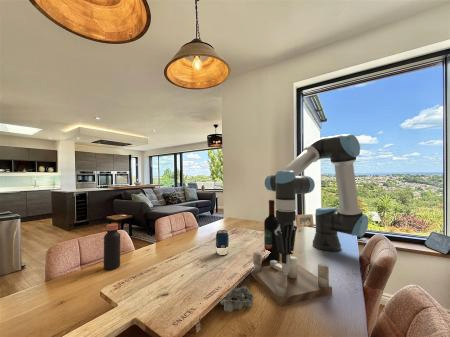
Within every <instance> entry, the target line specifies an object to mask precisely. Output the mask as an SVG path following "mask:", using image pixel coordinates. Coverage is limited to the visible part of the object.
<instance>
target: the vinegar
mask: <svg viewBox="0 0 450 337" xmlns="http://www.w3.org/2000/svg"><path fill="white" fill-rule="evenodd" d="M105 226H106V227H105V228H106V229H105V230H106V234H104V235H103V236H104V237H103V270H104V269H105V271H114V270H117V269H118V268H120V266H121V233H120V232H119V223H117V222H115V223H114V222H113V223H108V224H106V225H105ZM116 268H117V269H116ZM113 269H114V270H113Z"/></svg>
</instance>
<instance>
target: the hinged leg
mask: <svg viewBox="0 0 450 337" xmlns="http://www.w3.org/2000/svg"><path fill="white" fill-rule="evenodd" d="M297 263H298V258H297V257H296V256H292V255H290V272H286V273H287V275H288V276H289V277H291V278H297ZM281 264H282V263H278V262H277V261H275V260H271V261H270V262H269V266H270V267H272V268H275V269H277V270H279V271H283V270H282V265H281ZM283 272H285V271H283Z"/></svg>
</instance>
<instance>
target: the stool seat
mask: <svg viewBox="0 0 450 337" xmlns="http://www.w3.org/2000/svg"><path fill="white" fill-rule="evenodd" d="M262 254H263V253H262V252H259V251H255V252H253V253H252V265H253V264H254V265H255V269H254V270H253V272H252V273H251V272H250V275H251V277H253V278H254V280H255V281H256V282H257V283H259V285H260V286H261V287H262V288H263V290H265V291H266V293H267V294H268V295H269V296H270V297H271V298H272V300H274V301H275V303H276V304H277V305H278V306H279V307H283V306H286V305H291V304H294V303H300V302H303V301H307V300H312V299H316V298H320V297H324V296H327V295H332V294H333V286H332V285H330V283H329V281H330V275H329V274H330V272H329V270H330V268H329V265H327V264H325V263H318V264H317V276H316V275H315V274H313V273H312V272H310V271H309V270H307V269H306V268H304V267H303V266H301V265H300V264H299V263H298V262H297V278H291V277H289V276H288V275H287V273H286V272H283V271H279V270H277V269H275V268H272V267H270V265H266V266H263V265H262V261H263V260H262V259H263V258H262V256H263V255H262ZM280 264H281V265H282V263H280Z"/></svg>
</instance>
